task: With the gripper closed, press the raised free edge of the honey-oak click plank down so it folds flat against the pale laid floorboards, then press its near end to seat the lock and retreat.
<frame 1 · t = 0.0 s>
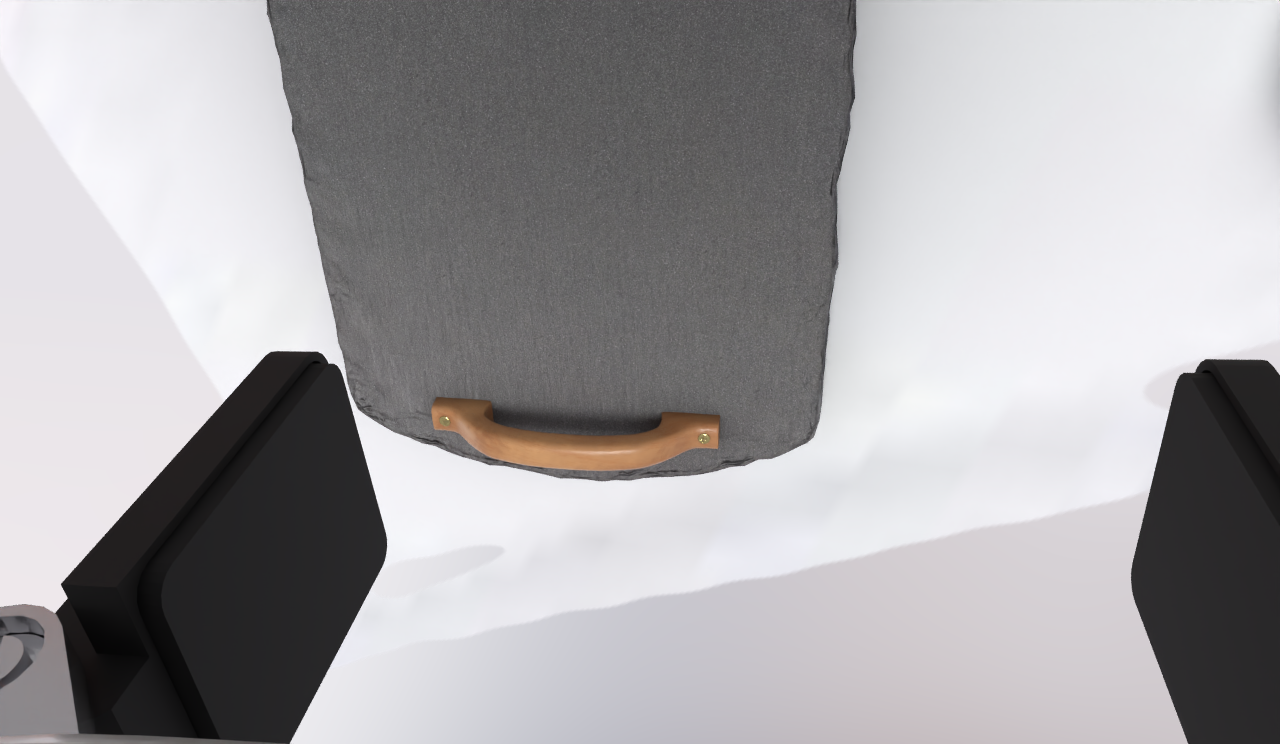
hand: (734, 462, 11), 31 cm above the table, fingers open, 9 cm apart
serving board: (571, 73, 42), on the table
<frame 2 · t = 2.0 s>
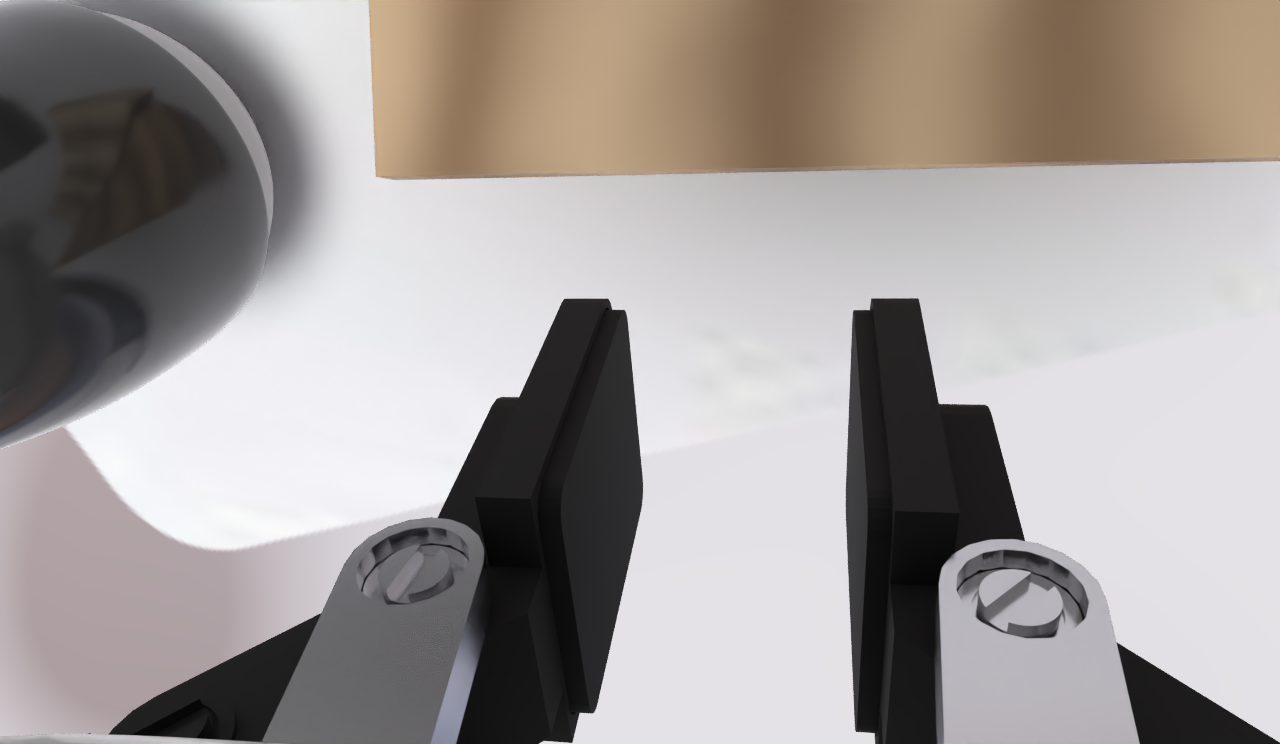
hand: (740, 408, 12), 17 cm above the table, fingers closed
pump dispenser: (165, 139, 31), on the table
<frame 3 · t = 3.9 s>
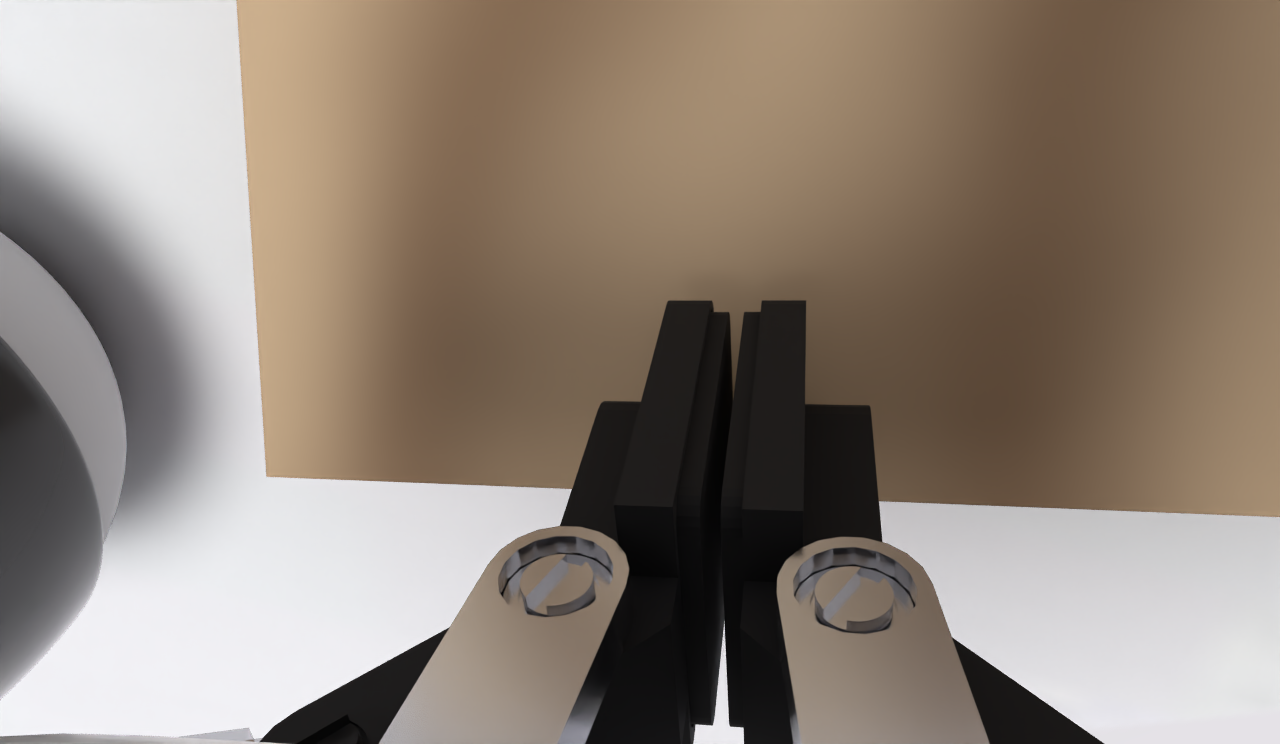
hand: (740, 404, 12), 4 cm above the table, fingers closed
plank: (1095, 180, 12), point 2 cm above the table, hinge at 23.9°, touching gripper
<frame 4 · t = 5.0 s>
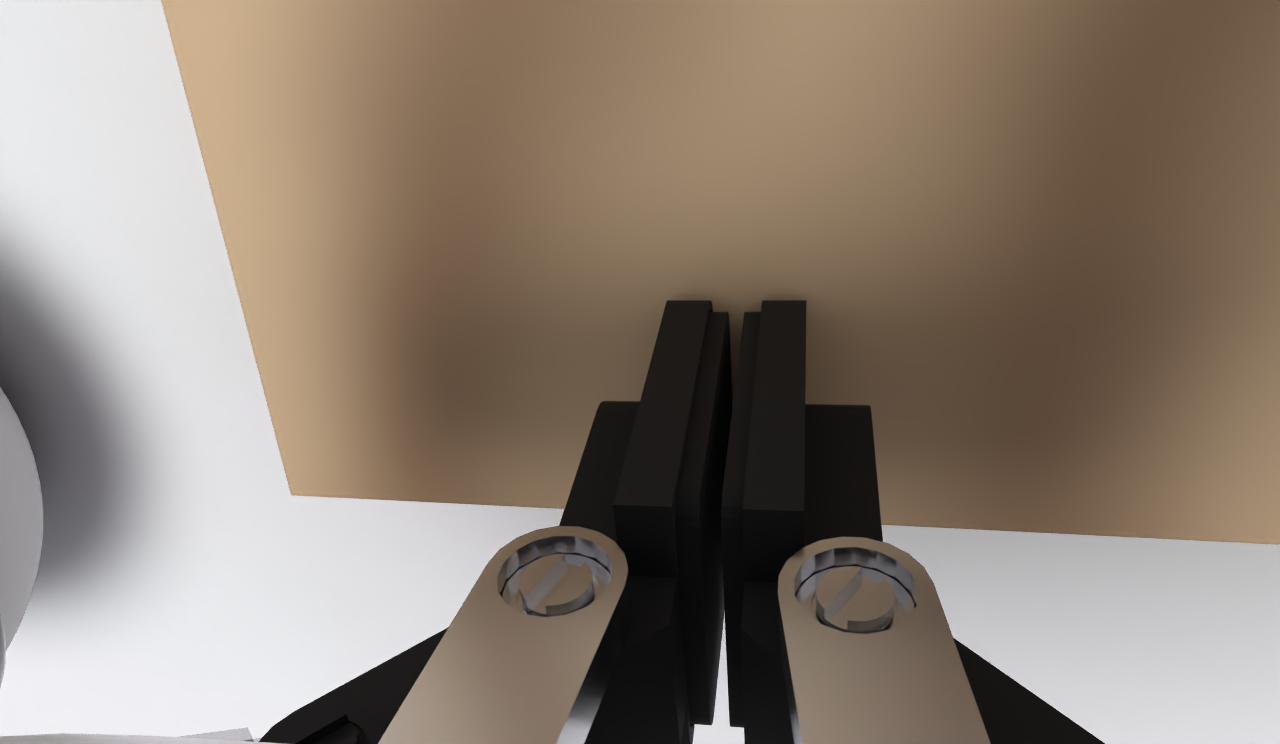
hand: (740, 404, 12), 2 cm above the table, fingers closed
plank: (1150, 210, 11), point 1 cm above the table, hinge at 5.1°, touching gripper
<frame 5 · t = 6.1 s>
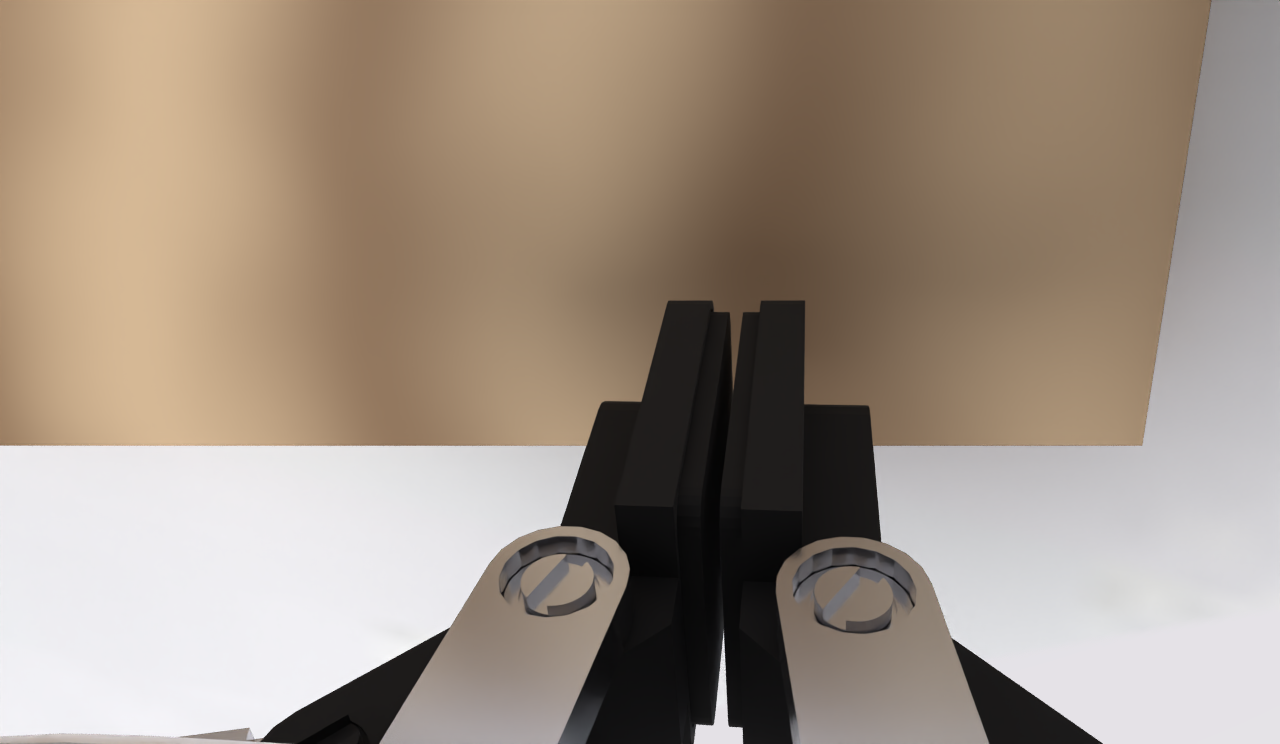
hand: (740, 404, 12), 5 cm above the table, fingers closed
plank: (417, 206, 16), point 1 cm above the table, hinge at 5.1°
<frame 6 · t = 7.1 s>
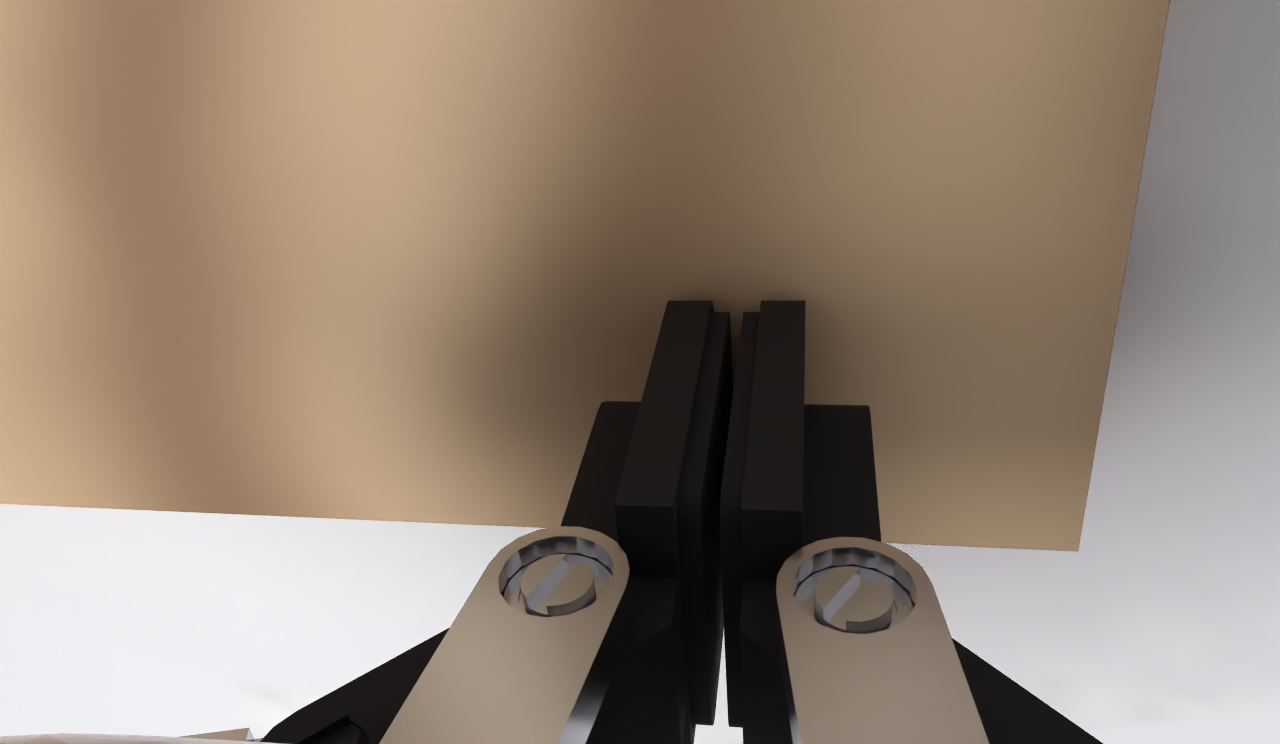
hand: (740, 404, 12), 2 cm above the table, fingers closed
plank: (231, 241, 13), point 1 cm above the table, hinge at 5.1°, touching gripper
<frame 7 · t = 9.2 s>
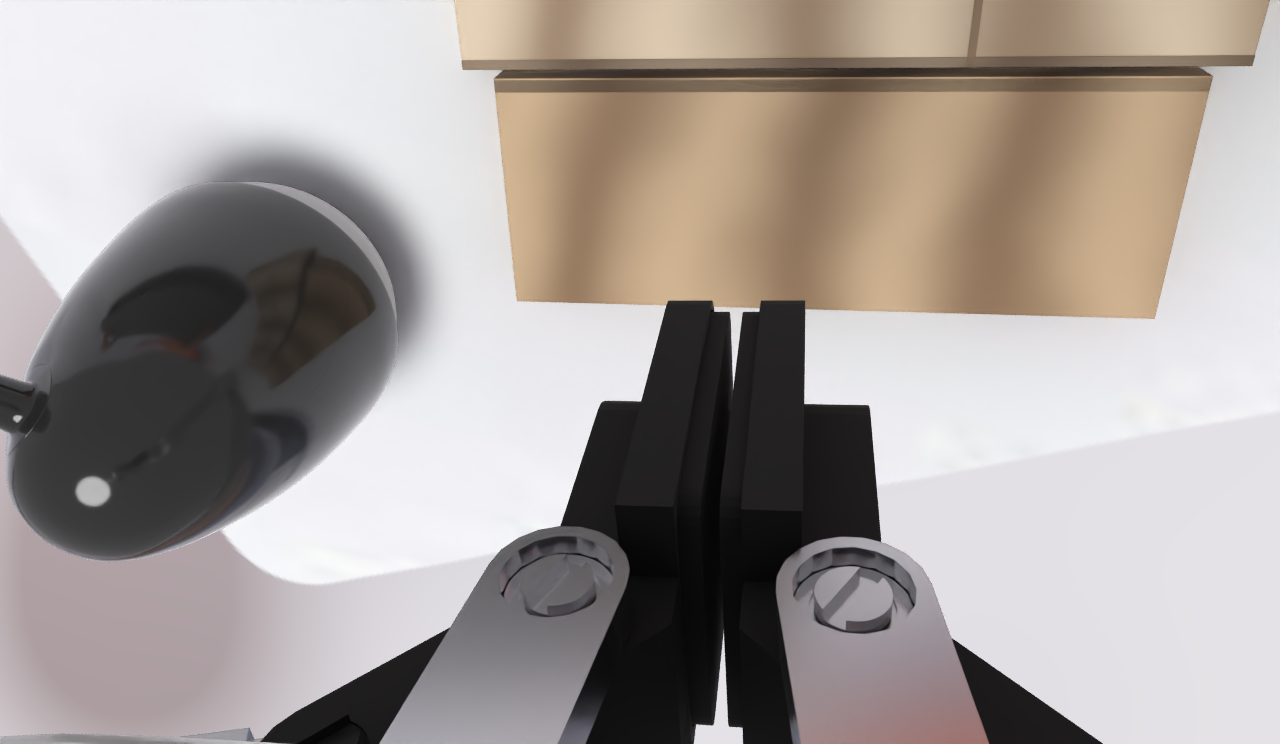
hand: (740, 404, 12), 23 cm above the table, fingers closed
plank: (828, 194, 34), point 1 cm above the table, hinge at 2.6°
pump dispenser: (303, 266, 39), on the table
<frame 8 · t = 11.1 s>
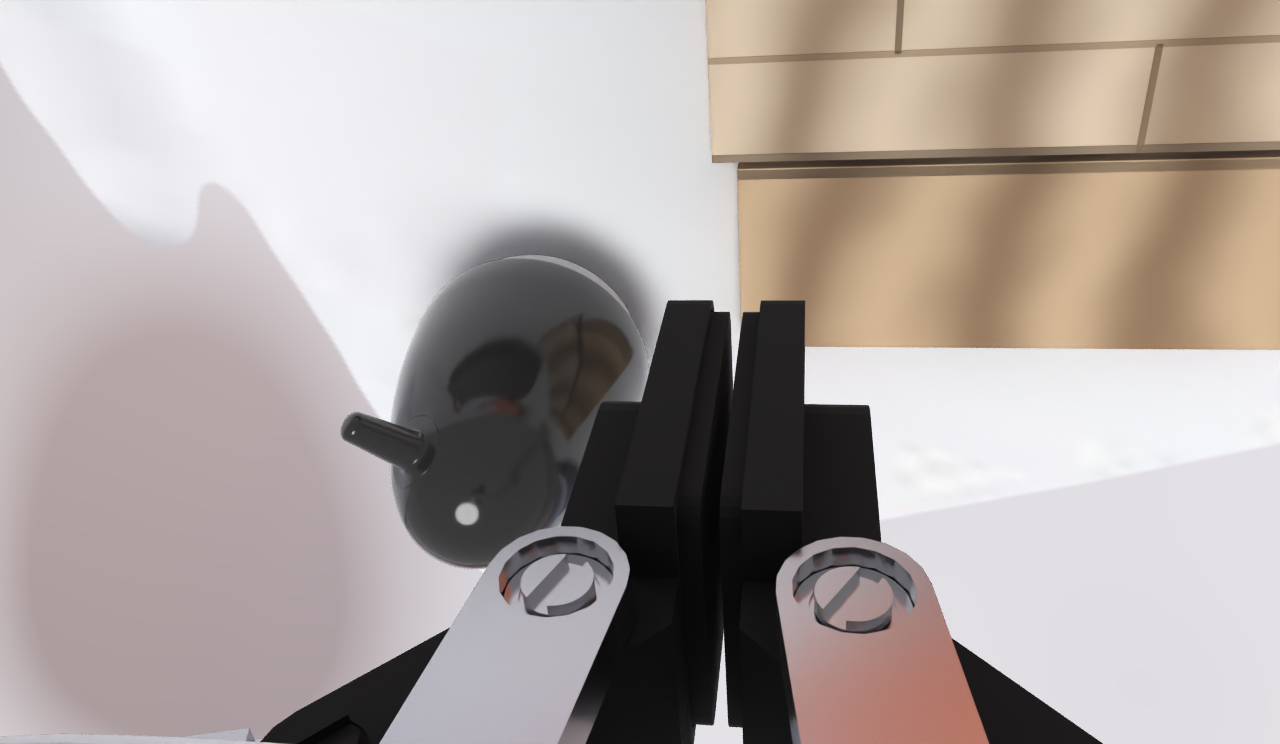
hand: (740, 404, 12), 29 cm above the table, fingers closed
plank: (1011, 254, 41), point 1 cm above the table, hinge at 2.6°
laid boards: (1034, 39, 37), on the table
pump dispenser: (550, 319, 47), on the table
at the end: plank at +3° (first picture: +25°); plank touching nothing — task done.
